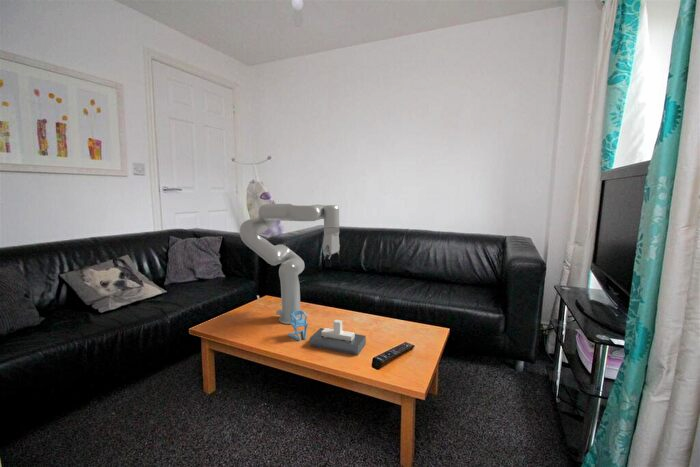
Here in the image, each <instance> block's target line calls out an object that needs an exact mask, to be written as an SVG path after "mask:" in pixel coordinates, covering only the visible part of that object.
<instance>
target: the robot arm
mask: <svg viewBox="0 0 700 467" xmlns="http://www.w3.org/2000/svg"><path fill="white" fill-rule="evenodd" d="M257 212H258V213H257V214H258V216H257V218H251V219H247V220H245V221H243V222H242V223H241V225H240V226H239V236H240V239H241V241H242V242H243V243H244V244H245V245H246V247H248V248H249V249H250V250H252V251H253V252H254V253H256V254H257V255H258V256H259V257H260V258H262V259H263V260H264V261H265V262H266V263H267V264H270V266H277V265H280V266H279V269H278V276H279V277H278V278H279V280H280V295H281V296H280V298H281V309H279V308H278V309H277V310H276V312H275V314H276V315H279V317H278V321H279V322H280V323H281V324H284V325H291V324H290V321H291V316H290V314H291V313H292V312H294V311H297V310H299V311H301V290H300V288H301V286H300V280H299V275H300V274H301V273H302V272H303V271H304V270H305V262H304V260H303V259H302V257H300V256H299V255H298V254H296V252H295V251H294V250H291V249H290V248H289V247H288V246H287V245H284V244H276V245H274V244H272V243H271V242H270V241H269V240H268V239H266V238H265V237H262V236H261V235H260V234H263V233H265V232H266V231H268V230H269V228H271V226H272V225H274V224H275V223H276V222H278V221H281V222H282V221H284V222H316V221H320V220H323V240H322V253H323V258H324V268H331V267H332V263H336V264H339V263H340V250H341V249H340V247H341V245H340V237H339V236H340V208H339V206H338V205H337V204H331V205H329V204H327V205H324V204H312V205H294V204H291V203H275V202H274V203H272V202H271V203H264V204H262V205H261V206H259V208H258V211H257ZM331 257H332V259H331ZM295 317H296V320H298V319H301V314H297V315H295ZM304 317H305V316H304V314H302V318H303V319H304V320H305V318H304ZM292 318H293V317H292ZM293 321H294V318H293Z"/></svg>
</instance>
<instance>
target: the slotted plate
mask: <svg viewBox="0 0 700 467" xmlns="http://www.w3.org/2000/svg"><path fill="white" fill-rule="evenodd" d="M324 329H325V328H319V329H318V330H317V331H315V333H313V334H312V335H311V336H310V337H309V343H310V344H309V346H310V347H313V348H318V349H323V350H329V351H334V352H339V353H345V354H349V355H355V356H359V355H360V353H361V352H362V351H363V349H364V348H365V346H366V345H367V342H366V341H367V337H366V335H365V334H358V333H355V338H354V339H353V340H352V341H351V342H347V341H345V340H342V339H336V338H330V337H329V338H325V337H324V336H322V334H321V332H322V331H323V330H324Z"/></svg>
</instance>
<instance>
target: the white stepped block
mask: <svg viewBox="0 0 700 467" xmlns="http://www.w3.org/2000/svg"><path fill="white" fill-rule="evenodd" d="M332 323H333V328H328V327H324V328H323V329H324V330H323V331H322V332H321V334H322V336H324V337H325V338H329V337H330V338H336V339H342V340H345V341H347V342H351V341H352V340H353V339H354V338H355V334H356V333H355V332H353V331H346V330H343V320H342V319H341V320H340V319H335V320H334V321H333V322H332Z"/></svg>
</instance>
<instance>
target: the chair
mask: <svg viewBox="0 0 700 467" xmlns="http://www.w3.org/2000/svg"><path fill="white" fill-rule="evenodd" d="M297 314H301V319H298V320H296V317H295V315H297ZM302 315H303V316H304V317H305V318H304V319H303V318H302ZM290 316H291V321H290V324H289V325H290V326H291V327H292V328H293V330H294V332H290V333H288V334H287V336H288V337H290V338H291V339H294V340H296V341H299V342H301V340H302V338H303V340H305V341H306V340H307V331H308V330H307V329H308V326H309V323H308V322H307V318H308V315H307V313H306V311H303V310H300V311H299V310H297V311H294V312H292V313H291V314H290ZM292 317H293V318H294V321H293V318H292ZM301 327H304V328H303V329H301V330H298V331H297V329H298V328H301ZM299 334H302V338H301V336H300V335H299Z"/></svg>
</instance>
